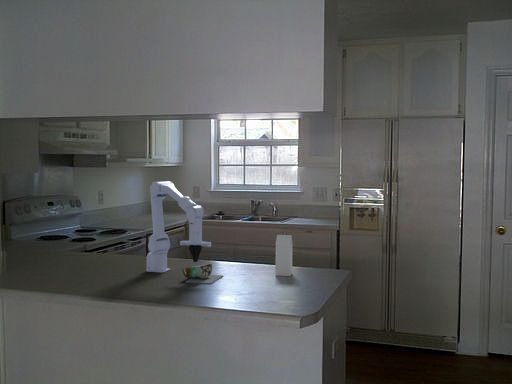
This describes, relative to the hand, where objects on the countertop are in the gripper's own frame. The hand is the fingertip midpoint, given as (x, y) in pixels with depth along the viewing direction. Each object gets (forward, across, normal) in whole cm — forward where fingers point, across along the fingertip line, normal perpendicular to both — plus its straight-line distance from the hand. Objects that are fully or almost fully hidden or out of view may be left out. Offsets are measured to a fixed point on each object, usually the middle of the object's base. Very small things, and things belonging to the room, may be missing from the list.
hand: (195, 261), depth 244 cm
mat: (+8, +5, 0) cm, 9 cm away
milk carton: (+8, +37, +21) cm, 43 cm away
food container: (+6, -4, 0) cm, 7 cm away
